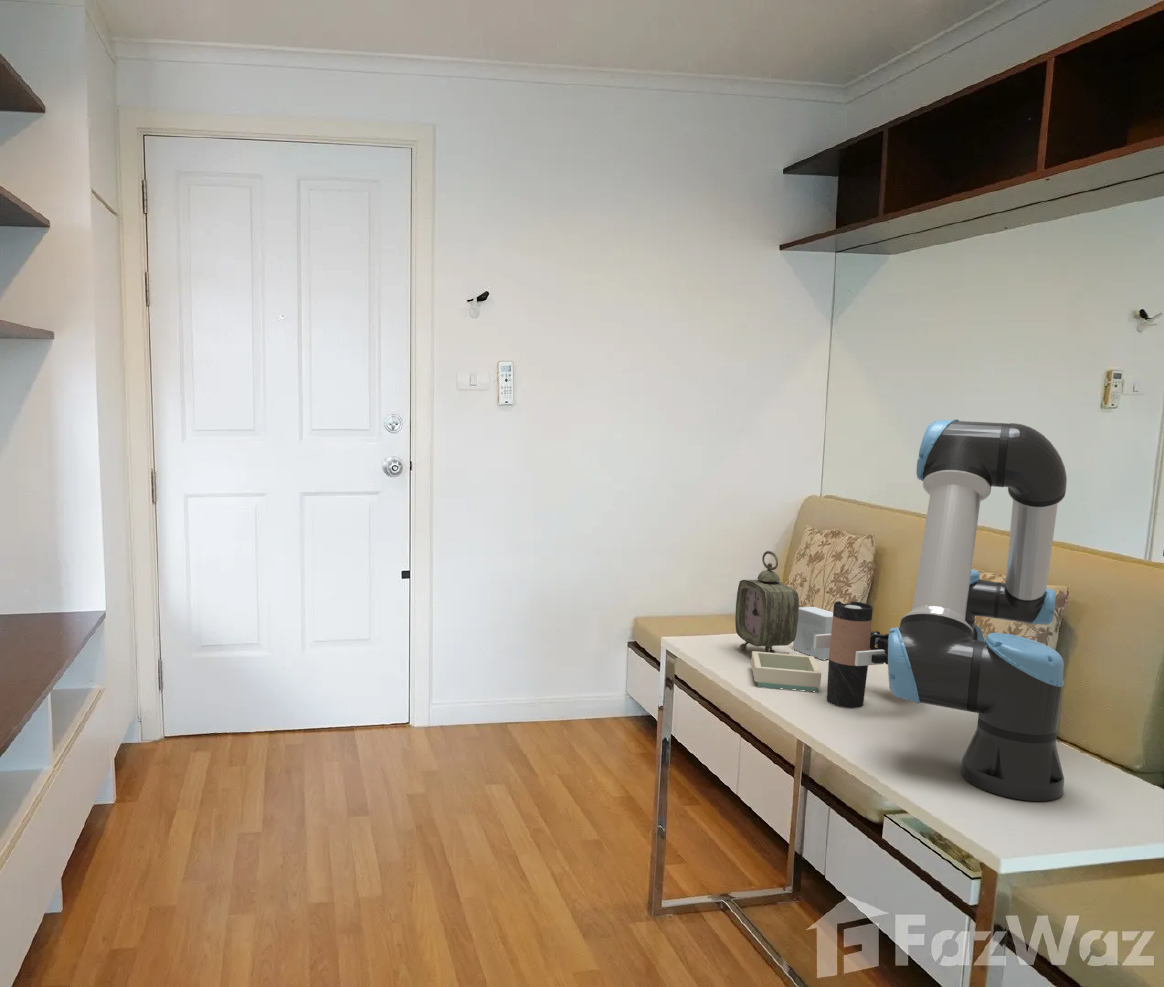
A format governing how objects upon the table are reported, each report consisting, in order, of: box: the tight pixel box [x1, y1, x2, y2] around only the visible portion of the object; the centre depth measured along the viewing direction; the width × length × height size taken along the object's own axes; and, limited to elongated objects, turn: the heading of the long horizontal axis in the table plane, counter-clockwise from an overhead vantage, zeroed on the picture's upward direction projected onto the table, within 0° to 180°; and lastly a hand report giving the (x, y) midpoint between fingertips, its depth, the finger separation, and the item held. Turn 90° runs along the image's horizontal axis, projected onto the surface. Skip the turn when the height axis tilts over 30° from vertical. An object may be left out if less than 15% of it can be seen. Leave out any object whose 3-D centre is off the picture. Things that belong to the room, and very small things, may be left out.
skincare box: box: [792, 606, 833, 661], centre depth 226 cm, size 10×6×10 cm, turn 29°
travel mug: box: [826, 600, 874, 709], centre depth 189 cm, size 8×8×20 cm
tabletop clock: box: [734, 550, 800, 653], centre depth 220 cm, size 14×9×25 cm, turn 17°
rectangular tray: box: [750, 650, 822, 693], centre depth 204 cm, size 18×13×4 cm
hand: (835, 650), depth 187 cm, fingers open, 12 cm apart
